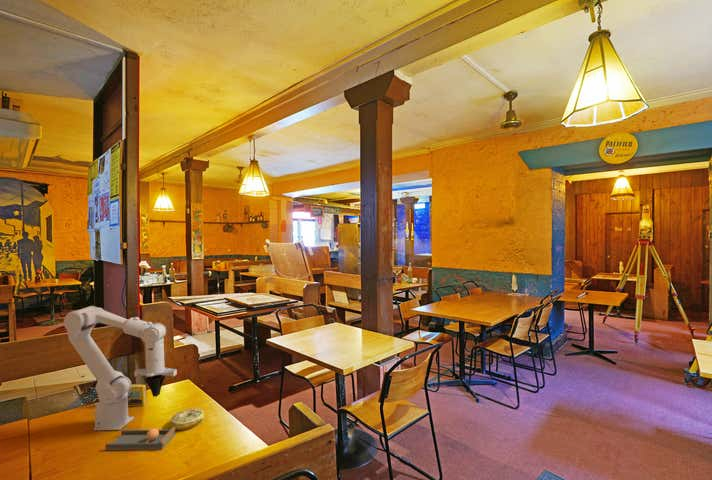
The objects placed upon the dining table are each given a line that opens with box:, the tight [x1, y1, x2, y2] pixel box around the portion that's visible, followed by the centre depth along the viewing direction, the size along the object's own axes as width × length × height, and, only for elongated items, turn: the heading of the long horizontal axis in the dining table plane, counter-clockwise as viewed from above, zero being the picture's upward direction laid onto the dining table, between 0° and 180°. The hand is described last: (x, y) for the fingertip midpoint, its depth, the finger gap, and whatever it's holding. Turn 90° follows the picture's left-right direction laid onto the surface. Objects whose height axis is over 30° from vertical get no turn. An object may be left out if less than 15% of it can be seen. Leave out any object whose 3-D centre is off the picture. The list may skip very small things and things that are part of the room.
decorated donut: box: [169, 407, 205, 431], centre depth 125 cm, size 10×11×4 cm
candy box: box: [128, 384, 148, 407], centre depth 139 cm, size 16×2×8 cm, turn 87°
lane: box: [104, 426, 176, 451], centre depth 114 cm, size 18×8×3 cm, turn 90°
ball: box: [146, 427, 159, 441], centre depth 114 cm, size 4×4×4 cm
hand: (156, 395), depth 125 cm, fingers closed
